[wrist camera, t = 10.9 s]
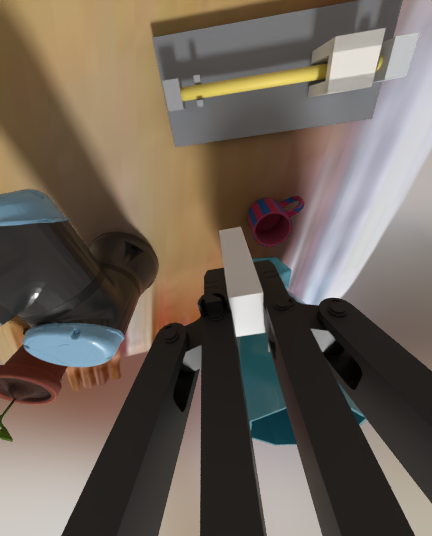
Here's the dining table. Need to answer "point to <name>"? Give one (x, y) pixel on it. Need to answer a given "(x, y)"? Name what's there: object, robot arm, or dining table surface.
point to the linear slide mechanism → (272, 72)
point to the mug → (272, 220)
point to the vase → (270, 382)
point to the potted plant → (28, 382)
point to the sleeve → (348, 62)
